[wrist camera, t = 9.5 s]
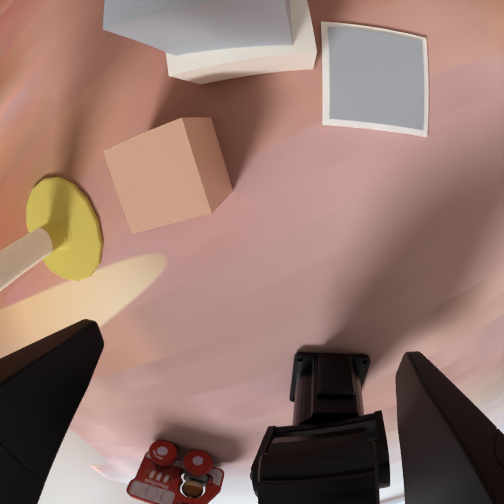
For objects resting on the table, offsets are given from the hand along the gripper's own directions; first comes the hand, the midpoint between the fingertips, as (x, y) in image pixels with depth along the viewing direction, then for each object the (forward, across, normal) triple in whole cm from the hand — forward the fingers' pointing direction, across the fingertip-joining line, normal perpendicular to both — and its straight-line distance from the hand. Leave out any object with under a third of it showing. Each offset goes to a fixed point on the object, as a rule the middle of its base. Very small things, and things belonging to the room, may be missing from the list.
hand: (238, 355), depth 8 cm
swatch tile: (+13, -6, -9) cm, 17 cm away
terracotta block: (+13, +6, -3) cm, 15 cm away
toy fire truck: (+13, +12, +37) cm, 41 cm away
